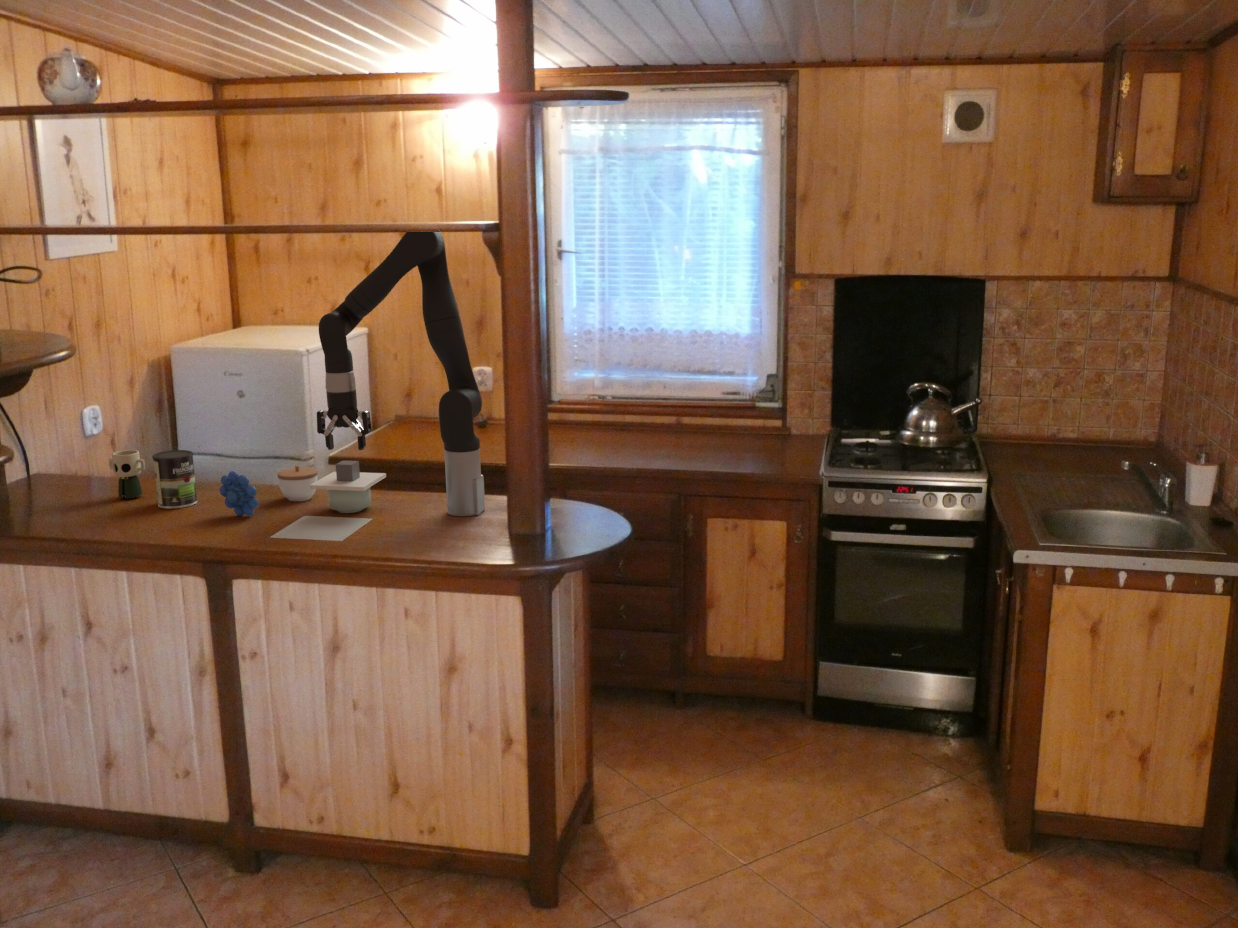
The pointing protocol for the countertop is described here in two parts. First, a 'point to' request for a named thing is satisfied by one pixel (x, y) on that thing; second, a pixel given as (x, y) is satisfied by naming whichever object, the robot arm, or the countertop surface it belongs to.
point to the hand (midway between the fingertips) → (346, 449)
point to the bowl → (349, 500)
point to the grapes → (238, 493)
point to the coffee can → (175, 479)
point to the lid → (348, 478)
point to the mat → (322, 528)
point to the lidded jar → (297, 482)
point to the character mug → (127, 472)
